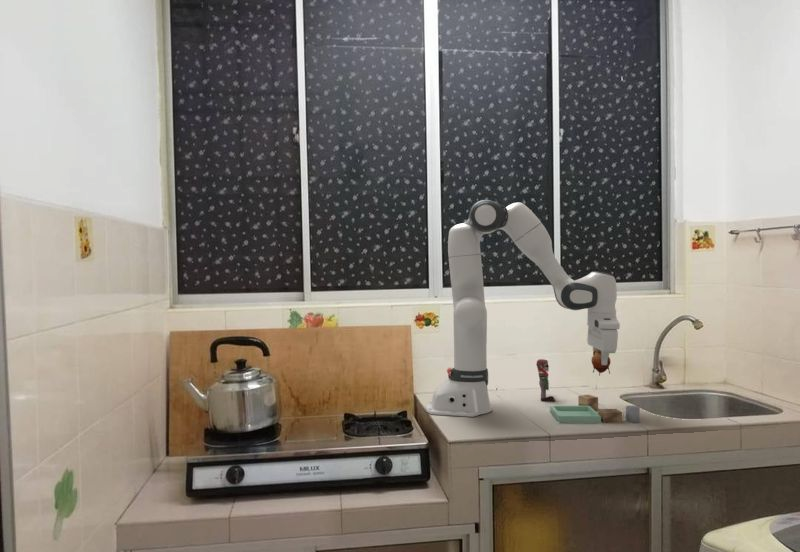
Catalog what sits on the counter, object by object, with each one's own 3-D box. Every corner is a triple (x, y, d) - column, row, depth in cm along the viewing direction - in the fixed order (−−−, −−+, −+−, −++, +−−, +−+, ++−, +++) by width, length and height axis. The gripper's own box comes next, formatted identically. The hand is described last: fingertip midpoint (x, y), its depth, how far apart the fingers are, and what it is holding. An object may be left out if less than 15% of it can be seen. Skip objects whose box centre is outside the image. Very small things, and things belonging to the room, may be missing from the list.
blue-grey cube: (628, 423, 169) (628, 408, 168) (624, 419, 173) (624, 405, 172) (641, 423, 168) (641, 408, 168) (637, 419, 172) (637, 405, 172)
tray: (558, 422, 170) (558, 416, 170) (550, 411, 183) (550, 405, 183) (601, 423, 169) (601, 416, 169) (589, 411, 182) (589, 405, 182)
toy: (556, 406, 189) (556, 363, 188) (537, 406, 190) (537, 363, 190) (552, 394, 206) (552, 355, 206) (535, 394, 207) (535, 355, 207)
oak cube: (587, 411, 182) (587, 398, 182) (578, 408, 186) (578, 395, 186) (598, 410, 184) (598, 397, 184) (589, 407, 188) (588, 394, 188)
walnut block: (603, 423, 169) (603, 412, 169) (598, 420, 173) (597, 409, 173) (622, 423, 169) (622, 412, 169) (616, 419, 173) (615, 408, 173)
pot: (610, 377, 175) (610, 372, 181) (610, 353, 174) (610, 348, 180) (591, 376, 177) (591, 371, 183) (590, 352, 176) (591, 348, 182)
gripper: (583, 317, 189) (582, 357, 189) (601, 323, 169) (599, 368, 169) (601, 318, 189) (600, 357, 189) (621, 324, 168) (620, 368, 169)
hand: (600, 362), depth 179 cm, fingers closed on pot, 6 cm apart
